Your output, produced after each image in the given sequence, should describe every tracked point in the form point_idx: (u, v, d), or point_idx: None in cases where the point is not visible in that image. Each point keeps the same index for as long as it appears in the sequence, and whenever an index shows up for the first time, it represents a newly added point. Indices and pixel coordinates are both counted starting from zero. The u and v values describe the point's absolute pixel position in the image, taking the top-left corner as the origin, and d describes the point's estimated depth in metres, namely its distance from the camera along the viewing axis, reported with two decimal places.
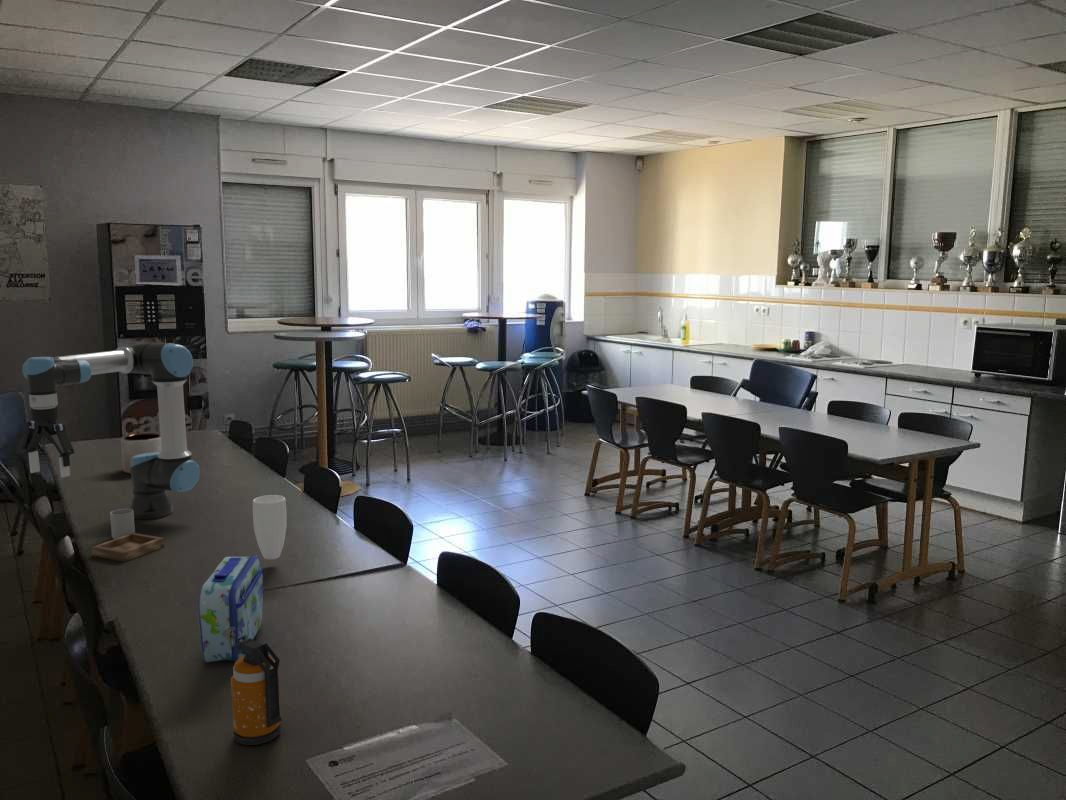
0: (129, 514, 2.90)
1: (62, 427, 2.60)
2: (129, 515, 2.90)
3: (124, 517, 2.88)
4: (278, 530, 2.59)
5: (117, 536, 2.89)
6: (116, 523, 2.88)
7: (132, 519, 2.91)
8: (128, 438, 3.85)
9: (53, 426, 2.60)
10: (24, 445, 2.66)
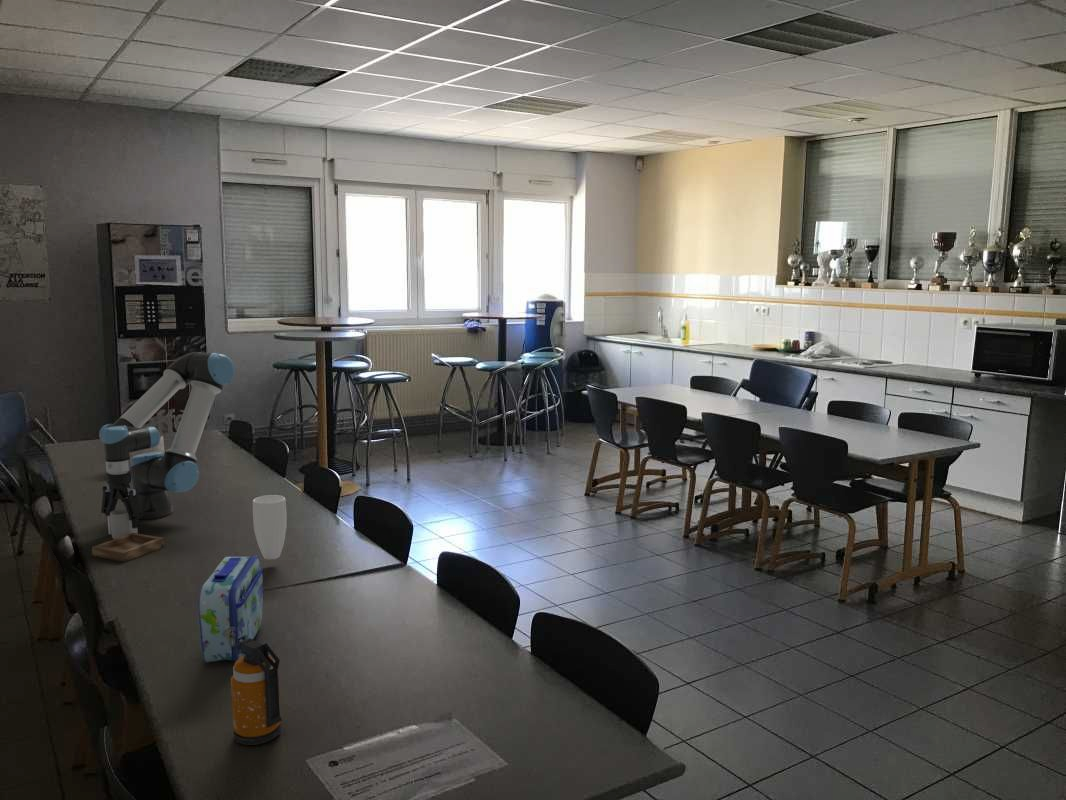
0: None
1: (135, 492, 2.89)
2: None
3: (124, 517, 2.88)
4: (278, 530, 2.59)
5: (117, 536, 2.89)
6: (116, 523, 2.88)
7: None
8: None
9: (127, 490, 2.89)
10: (103, 509, 2.94)
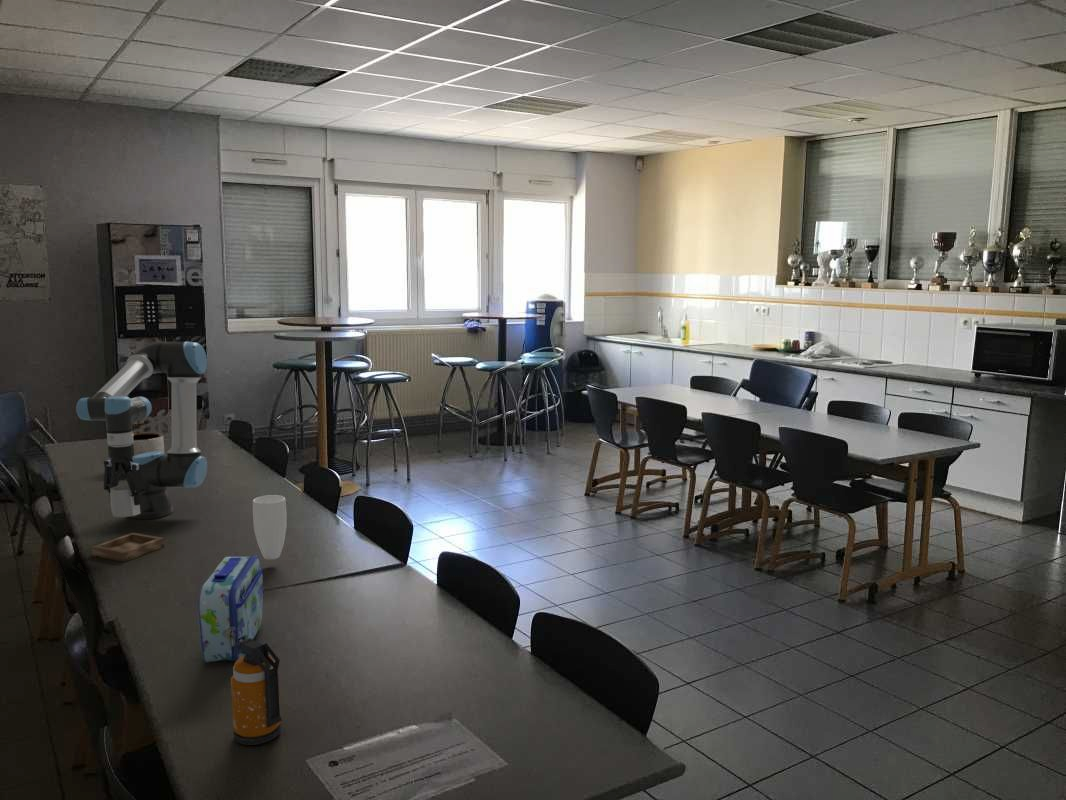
0: None
1: (138, 467, 2.71)
2: None
3: (125, 493, 2.71)
4: (278, 530, 2.59)
5: (118, 513, 2.71)
6: (117, 499, 2.70)
7: None
8: None
9: (130, 464, 2.71)
10: (105, 485, 2.76)
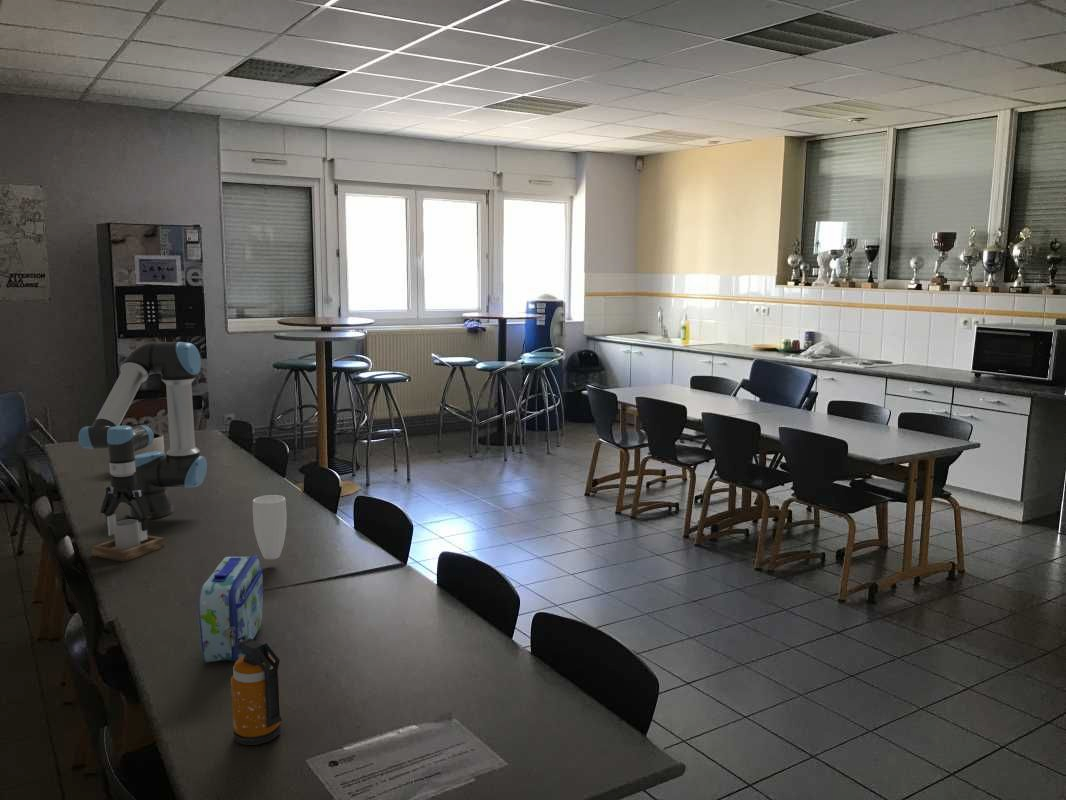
0: (133, 525, 2.74)
1: (141, 493, 2.72)
2: (133, 526, 2.74)
3: (128, 528, 2.73)
4: (278, 530, 2.59)
5: (121, 548, 2.73)
6: (120, 535, 2.72)
7: (137, 530, 2.75)
8: None
9: (132, 492, 2.72)
10: (103, 509, 2.78)
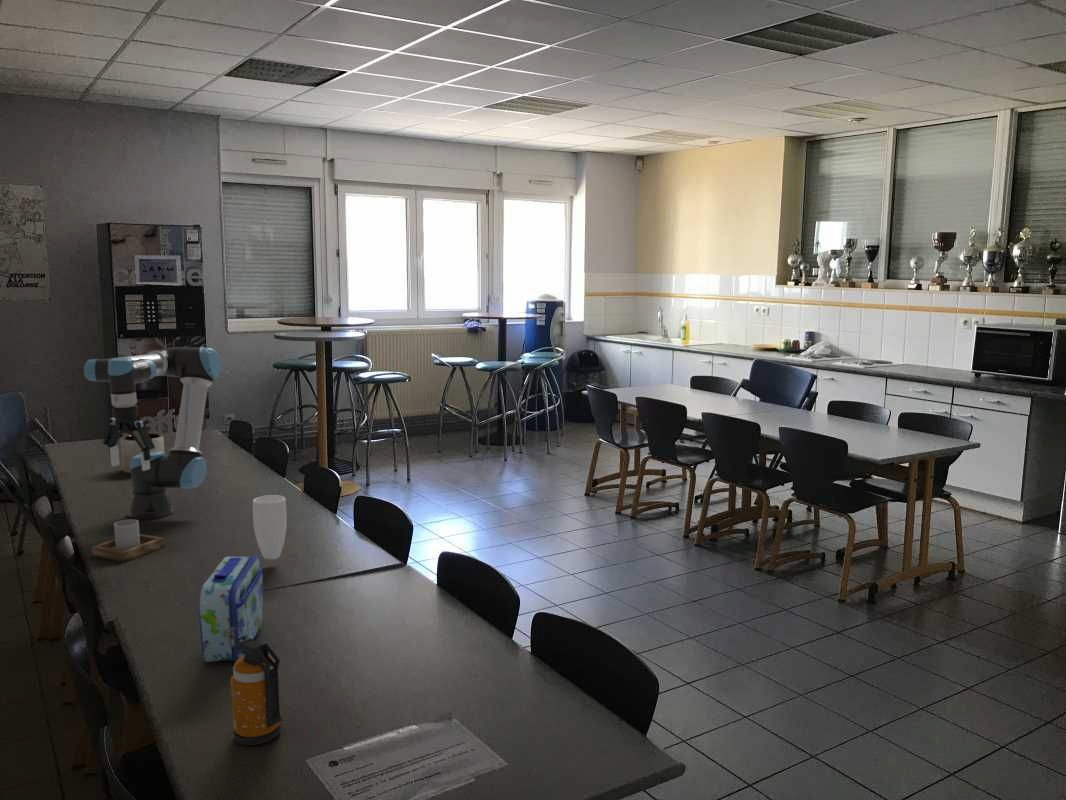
0: (134, 525, 2.74)
1: (142, 424, 2.77)
2: (134, 526, 2.74)
3: (128, 528, 2.73)
4: (278, 530, 2.59)
5: (121, 548, 2.73)
6: (120, 535, 2.72)
7: (137, 530, 2.75)
8: (128, 438, 3.85)
9: (134, 423, 2.77)
10: (105, 440, 2.83)
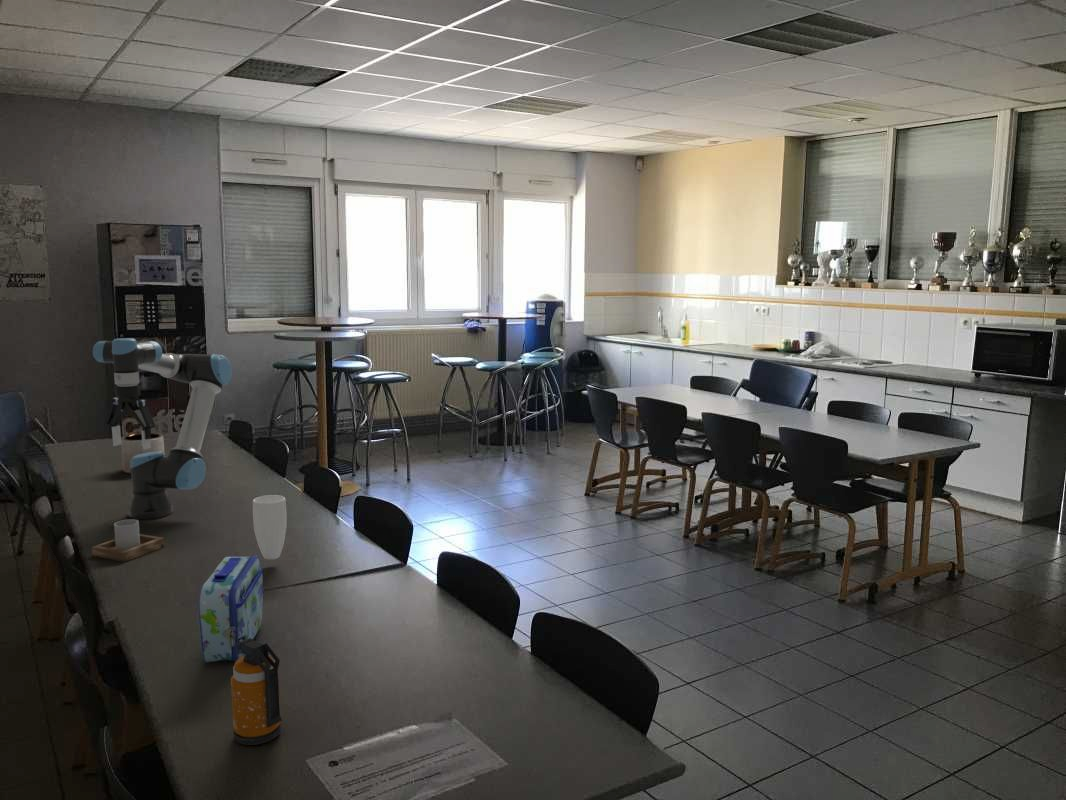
0: (134, 525, 2.74)
1: (144, 403, 2.82)
2: (134, 526, 2.74)
3: (128, 528, 2.73)
4: (278, 530, 2.59)
5: (121, 548, 2.73)
6: (120, 535, 2.72)
7: (137, 530, 2.75)
8: (128, 438, 3.85)
9: (136, 402, 2.82)
10: (108, 420, 2.88)
